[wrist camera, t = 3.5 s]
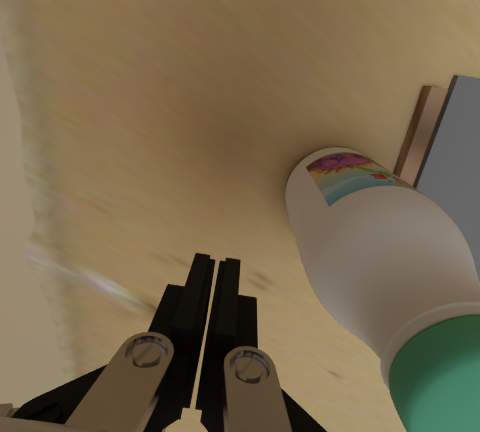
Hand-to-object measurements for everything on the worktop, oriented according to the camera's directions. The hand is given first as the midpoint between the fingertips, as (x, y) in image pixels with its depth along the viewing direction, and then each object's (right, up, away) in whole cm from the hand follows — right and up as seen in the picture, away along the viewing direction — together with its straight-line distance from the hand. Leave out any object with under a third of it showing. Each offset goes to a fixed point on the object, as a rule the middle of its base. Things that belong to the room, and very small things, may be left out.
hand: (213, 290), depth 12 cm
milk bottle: (+9, +5, +15) cm, 18 cm away
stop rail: (+14, +4, +15) cm, 21 cm away
